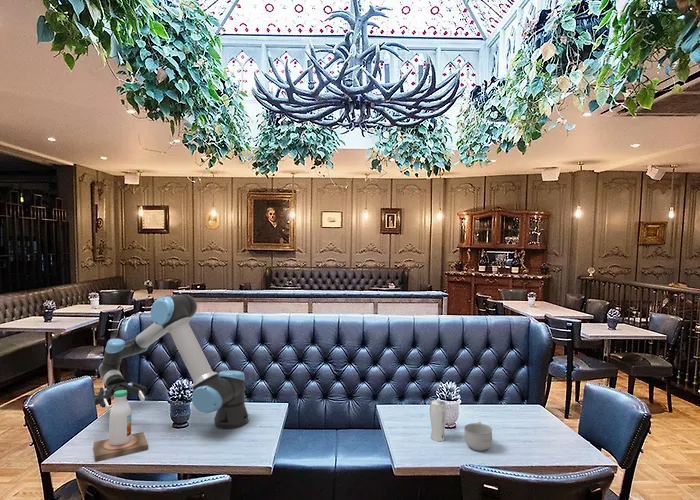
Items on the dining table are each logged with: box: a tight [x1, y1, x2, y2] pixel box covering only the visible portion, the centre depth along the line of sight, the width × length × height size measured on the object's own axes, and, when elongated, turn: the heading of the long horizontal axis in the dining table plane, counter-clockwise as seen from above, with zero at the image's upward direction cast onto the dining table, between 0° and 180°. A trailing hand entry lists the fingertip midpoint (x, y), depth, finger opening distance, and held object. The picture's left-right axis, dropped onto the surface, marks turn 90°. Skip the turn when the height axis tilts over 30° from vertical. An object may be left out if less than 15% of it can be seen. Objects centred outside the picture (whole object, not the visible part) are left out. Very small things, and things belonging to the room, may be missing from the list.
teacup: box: [463, 421, 493, 452], centre depth 173 cm, size 14×11×8 cm
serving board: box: [93, 431, 149, 463], centre depth 169 cm, size 18×14×3 cm
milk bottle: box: [108, 390, 132, 446], centre depth 169 cm, size 8×8×20 cm
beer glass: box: [429, 399, 448, 442], centre depth 179 cm, size 7×7×15 cm
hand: (126, 404), depth 178 cm, fingers open, 13 cm apart
